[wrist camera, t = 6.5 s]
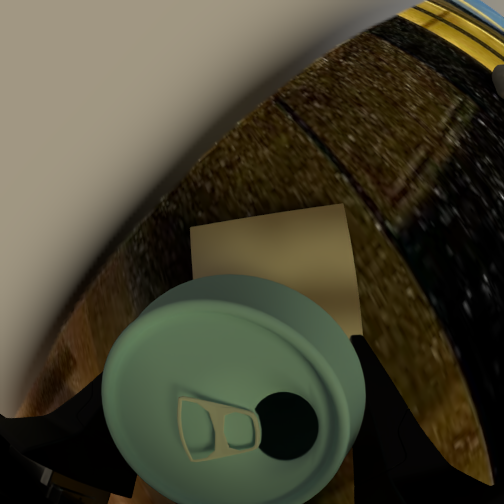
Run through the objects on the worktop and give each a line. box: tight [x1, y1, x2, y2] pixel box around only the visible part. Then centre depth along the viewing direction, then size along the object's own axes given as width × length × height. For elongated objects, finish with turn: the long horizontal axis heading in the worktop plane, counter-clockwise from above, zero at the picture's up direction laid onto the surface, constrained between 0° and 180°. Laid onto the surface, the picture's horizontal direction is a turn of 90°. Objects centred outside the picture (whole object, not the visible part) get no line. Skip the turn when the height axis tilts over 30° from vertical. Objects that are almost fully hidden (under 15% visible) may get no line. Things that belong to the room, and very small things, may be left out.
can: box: [101, 274, 366, 504], centre depth 10 cm, size 7×7×12 cm
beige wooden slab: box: [190, 204, 363, 339], centre depth 19 cm, size 14×11×2 cm
